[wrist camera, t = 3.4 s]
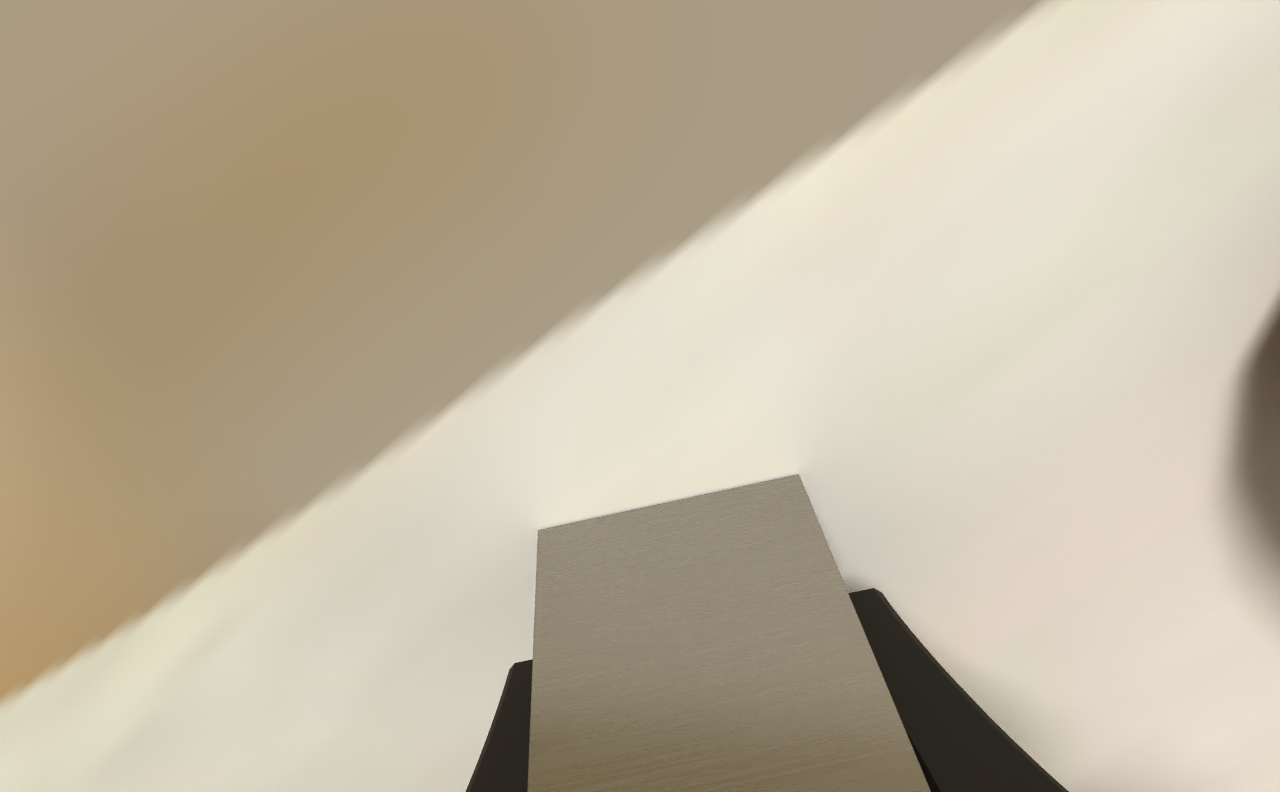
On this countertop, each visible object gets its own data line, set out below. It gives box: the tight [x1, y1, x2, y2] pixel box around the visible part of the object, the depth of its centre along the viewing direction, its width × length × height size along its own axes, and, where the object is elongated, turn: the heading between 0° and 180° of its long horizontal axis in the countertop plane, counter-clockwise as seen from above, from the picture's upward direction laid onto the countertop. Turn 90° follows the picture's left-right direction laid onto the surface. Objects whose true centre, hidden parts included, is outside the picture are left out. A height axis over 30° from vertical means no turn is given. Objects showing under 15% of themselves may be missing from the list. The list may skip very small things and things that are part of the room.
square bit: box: [528, 474, 931, 792], centre depth 10 cm, size 4×4×6 cm
